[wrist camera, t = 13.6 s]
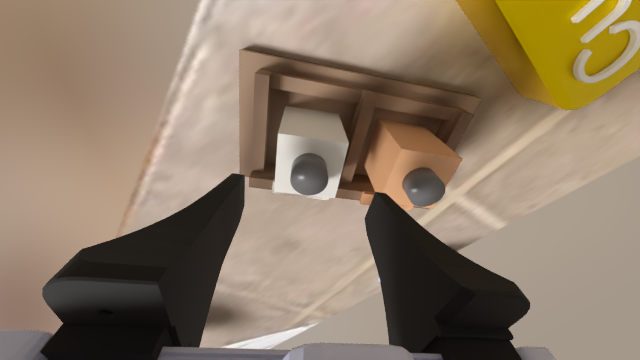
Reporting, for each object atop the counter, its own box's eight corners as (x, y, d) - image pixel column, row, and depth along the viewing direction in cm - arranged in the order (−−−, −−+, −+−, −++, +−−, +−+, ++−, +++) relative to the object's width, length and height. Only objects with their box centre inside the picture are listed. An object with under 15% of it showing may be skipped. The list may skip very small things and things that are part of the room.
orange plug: (425, 127, 21) (475, 169, 15) (405, 169, 23) (441, 221, 17) (378, 118, 20) (409, 159, 14) (363, 163, 22) (384, 214, 16)
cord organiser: (474, 95, 20) (511, 110, 17) (422, 194, 26) (440, 221, 23) (242, 48, 18) (225, 54, 14) (242, 170, 23) (230, 196, 20)
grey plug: (338, 113, 20) (352, 152, 14) (328, 159, 22) (337, 210, 16) (285, 105, 19) (275, 142, 13) (281, 153, 22) (271, 204, 15)
